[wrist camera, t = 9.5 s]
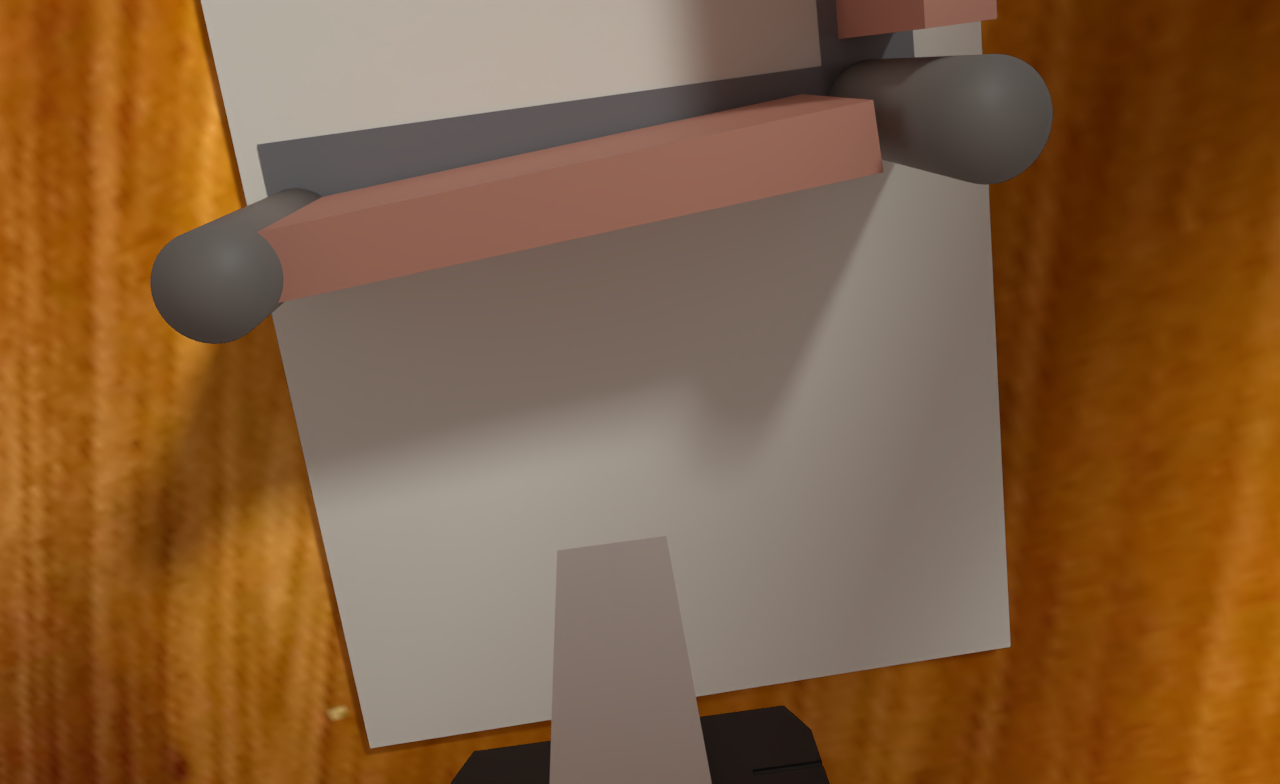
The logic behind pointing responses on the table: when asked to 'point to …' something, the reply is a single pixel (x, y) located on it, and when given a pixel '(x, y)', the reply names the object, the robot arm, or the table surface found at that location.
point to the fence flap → (503, 208)
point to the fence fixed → (946, 95)
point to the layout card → (627, 357)
